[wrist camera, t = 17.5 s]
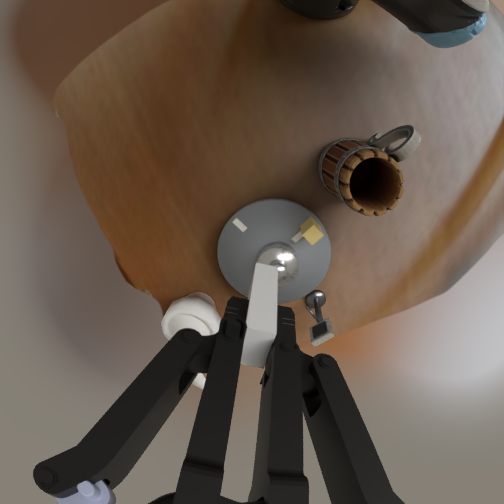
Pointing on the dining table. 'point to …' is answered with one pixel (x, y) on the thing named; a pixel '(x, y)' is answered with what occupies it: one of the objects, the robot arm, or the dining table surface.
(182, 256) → the dining table surface
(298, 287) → the turntable
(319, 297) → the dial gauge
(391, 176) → the mug
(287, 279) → the cover
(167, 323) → the potted plant
